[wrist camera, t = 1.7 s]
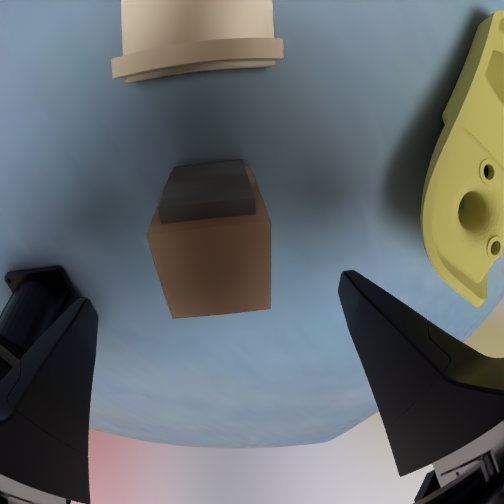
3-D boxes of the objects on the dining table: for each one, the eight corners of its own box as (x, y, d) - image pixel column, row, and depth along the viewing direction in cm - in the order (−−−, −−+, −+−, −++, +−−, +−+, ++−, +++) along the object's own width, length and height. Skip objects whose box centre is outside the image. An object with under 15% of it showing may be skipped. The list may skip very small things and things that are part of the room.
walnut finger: (182, 238, 16) (172, 318, 11) (168, 162, 13) (142, 218, 8) (251, 231, 16) (270, 308, 11) (248, 153, 13) (270, 204, 8)
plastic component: (496, -2, 5) (580, 99, 4) (459, 29, 12) (533, 104, 11) (388, 238, 13) (489, 320, 12) (366, 211, 20) (451, 275, 19)
